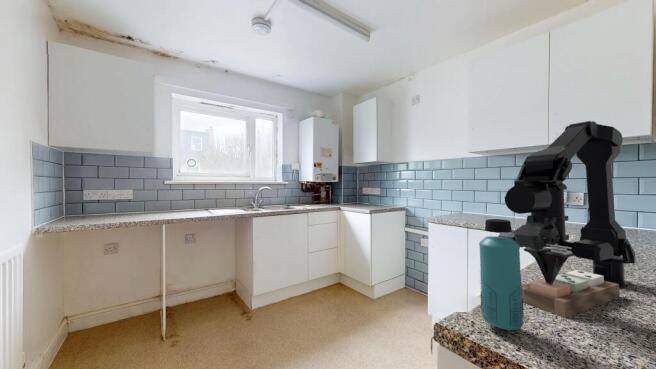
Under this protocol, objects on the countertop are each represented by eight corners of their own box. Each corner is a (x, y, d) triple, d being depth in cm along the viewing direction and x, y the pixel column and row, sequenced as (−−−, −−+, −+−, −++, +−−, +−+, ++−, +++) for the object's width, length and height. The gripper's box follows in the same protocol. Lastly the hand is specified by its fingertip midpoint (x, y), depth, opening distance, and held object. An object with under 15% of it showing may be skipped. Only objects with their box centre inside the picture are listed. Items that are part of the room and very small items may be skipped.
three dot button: (561, 284, 63) (560, 273, 63) (588, 291, 59) (587, 280, 59) (548, 288, 61) (548, 276, 61) (575, 295, 57) (575, 283, 57)
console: (570, 284, 68) (570, 272, 69) (619, 297, 60) (619, 284, 60) (516, 300, 60) (516, 286, 60) (565, 317, 52) (564, 302, 52)
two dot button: (577, 280, 66) (576, 269, 66) (604, 286, 61) (603, 275, 62) (565, 283, 64) (565, 272, 64) (592, 290, 60) (592, 278, 60)
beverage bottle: (532, 341, 44) (528, 221, 44) (488, 337, 45) (485, 221, 46) (513, 321, 51) (510, 217, 51) (475, 319, 52) (472, 217, 52)
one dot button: (543, 289, 61) (543, 278, 61) (570, 297, 56) (570, 285, 56) (530, 293, 59) (529, 281, 59) (556, 302, 54) (556, 289, 54)
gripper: (482, 210, 63) (484, 275, 63) (581, 217, 46) (585, 307, 46) (512, 207, 67) (514, 269, 67) (613, 213, 50) (616, 296, 50)
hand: (549, 282), depth 57 cm, fingers closed
